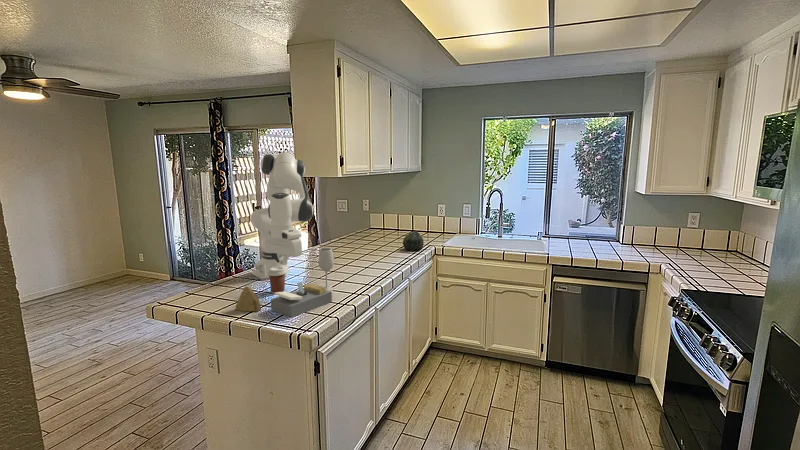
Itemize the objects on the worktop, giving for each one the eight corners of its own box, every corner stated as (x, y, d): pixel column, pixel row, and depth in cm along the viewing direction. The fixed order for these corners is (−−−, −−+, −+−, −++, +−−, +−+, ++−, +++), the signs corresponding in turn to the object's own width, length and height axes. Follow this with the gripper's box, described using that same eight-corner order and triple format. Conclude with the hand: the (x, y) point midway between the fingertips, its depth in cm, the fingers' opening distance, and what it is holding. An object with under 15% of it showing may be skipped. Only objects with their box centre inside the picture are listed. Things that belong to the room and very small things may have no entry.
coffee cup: (280, 287, 202) (279, 265, 200) (291, 291, 197) (290, 268, 195) (264, 292, 195) (263, 268, 193) (275, 296, 190) (274, 272, 188)
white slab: (274, 294, 171) (274, 292, 171) (285, 293, 176) (286, 291, 176) (290, 299, 164) (291, 297, 164) (302, 298, 169) (302, 296, 169)
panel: (271, 310, 172) (270, 295, 171) (311, 295, 190) (311, 282, 189) (291, 317, 164) (291, 302, 163) (331, 301, 182) (331, 287, 181)
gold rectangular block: (303, 289, 184) (303, 285, 184) (309, 287, 187) (309, 283, 187) (319, 294, 178) (319, 289, 177) (325, 292, 180) (325, 287, 180)
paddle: (299, 295, 176) (296, 283, 176) (303, 294, 177) (299, 282, 177) (301, 295, 175) (298, 282, 175) (305, 294, 176) (302, 281, 177)
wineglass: (319, 292, 195) (318, 251, 192) (318, 287, 202) (317, 248, 199) (335, 291, 197) (334, 250, 194) (333, 286, 204) (332, 247, 201)
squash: (399, 240, 296) (404, 228, 285) (418, 240, 300) (423, 228, 289) (403, 256, 287) (408, 243, 276) (422, 255, 292) (428, 243, 281)
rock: (268, 304, 173) (257, 295, 179) (256, 292, 167) (246, 284, 174) (248, 323, 168) (239, 313, 175) (236, 312, 163) (227, 302, 170)
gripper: (260, 230, 167) (262, 262, 169) (291, 235, 155) (293, 269, 158) (272, 228, 172) (274, 259, 174) (303, 233, 160) (305, 266, 163)
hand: (283, 264), depth 166 cm, fingers closed
